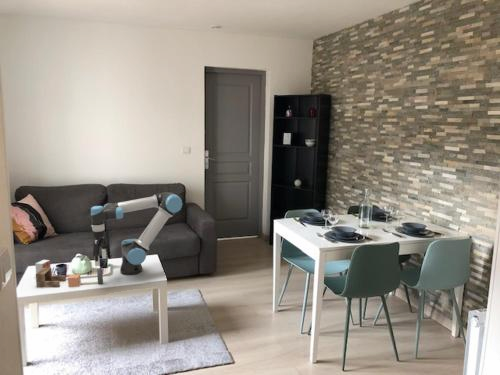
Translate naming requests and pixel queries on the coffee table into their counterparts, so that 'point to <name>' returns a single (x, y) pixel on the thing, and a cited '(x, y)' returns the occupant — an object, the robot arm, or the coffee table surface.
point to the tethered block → (76, 281)
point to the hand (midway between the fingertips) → (101, 262)
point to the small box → (42, 265)
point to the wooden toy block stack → (48, 278)
